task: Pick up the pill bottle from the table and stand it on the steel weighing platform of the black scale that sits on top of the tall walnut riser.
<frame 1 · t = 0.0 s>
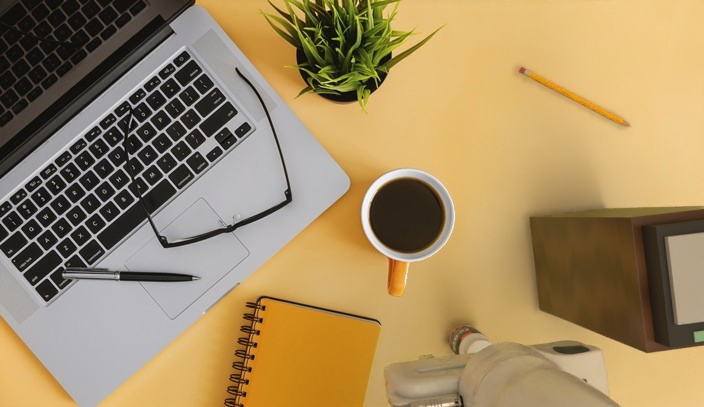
hand: (466, 356, 61), 19 cm above the table, tool pointing down, fingers open, 8 cm apart
scale: (693, 278, 57), resting on riser
pencil: (574, 98, 83), on the table
pill bottle: (463, 340, 81), on the table
riser: (573, 258, 83), on the table
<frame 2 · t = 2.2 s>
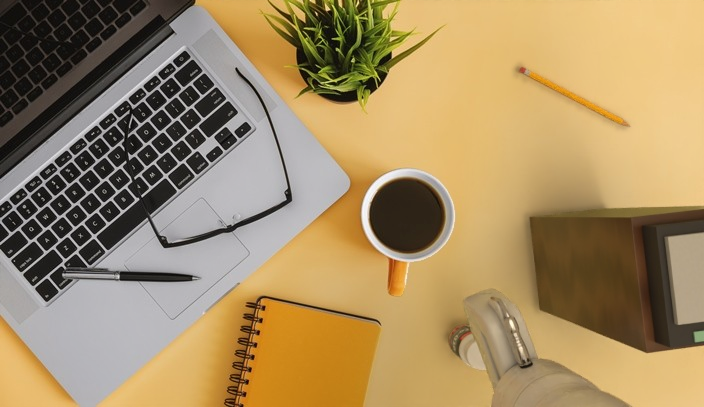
hand: (492, 369, 62), 19 cm above the table, tool pointing down, fingers open, 8 cm apart
nothing on the table moved.
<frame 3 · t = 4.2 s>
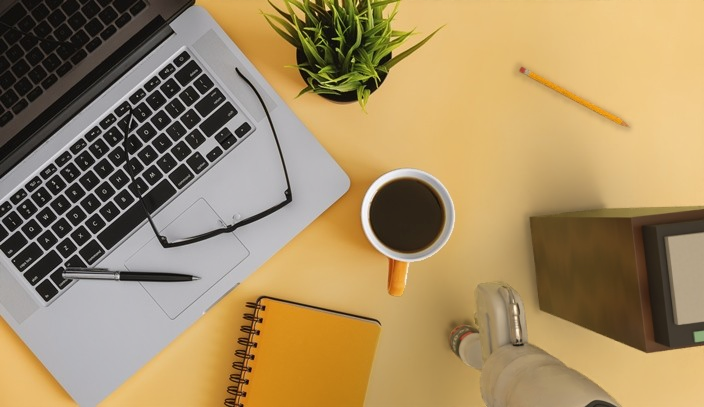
hand: (483, 352, 72), 9 cm above the table, tool pointing down, fingers open, 8 cm apart
nothing on the table moved.
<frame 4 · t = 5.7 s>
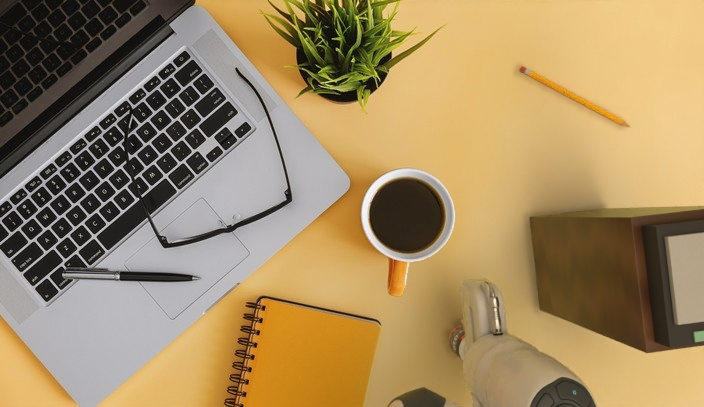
hand: (469, 344, 78), 3 cm above the table, tool pointing down, fingers closed on pill bottle, 5 cm apart
pill bottle: (463, 339, 81), on the table, touching gripper
everything else where it was.
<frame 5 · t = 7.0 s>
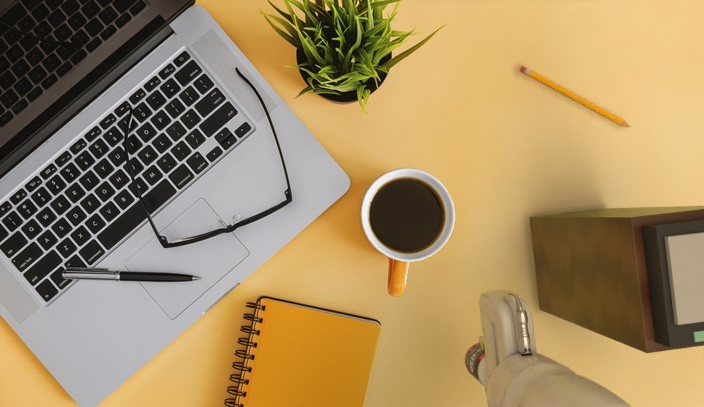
hand: (488, 365, 69), 12 cm above the table, tool pointing down, fingers closed on pill bottle, 5 cm apart
pill bottle: (480, 359, 72), point 9 cm above the table, touching gripper
everything else where it was.
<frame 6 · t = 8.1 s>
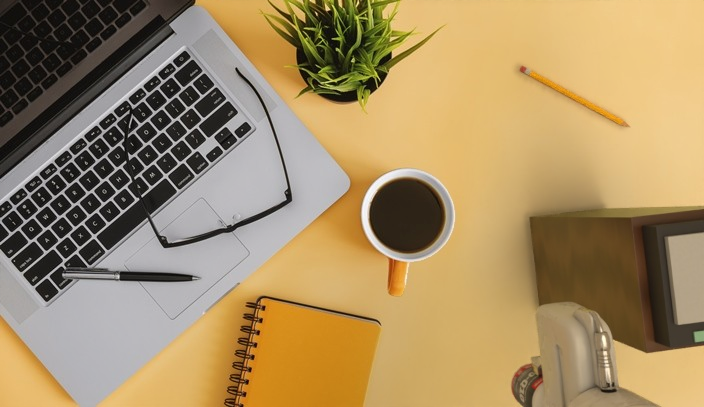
hand: (542, 393, 56), 25 cm above the table, tool pointing down, fingers closed on pill bottle, 5 cm apart
pill bottle: (530, 384, 59), point 22 cm above the table, touching gripper
everything else where it was.
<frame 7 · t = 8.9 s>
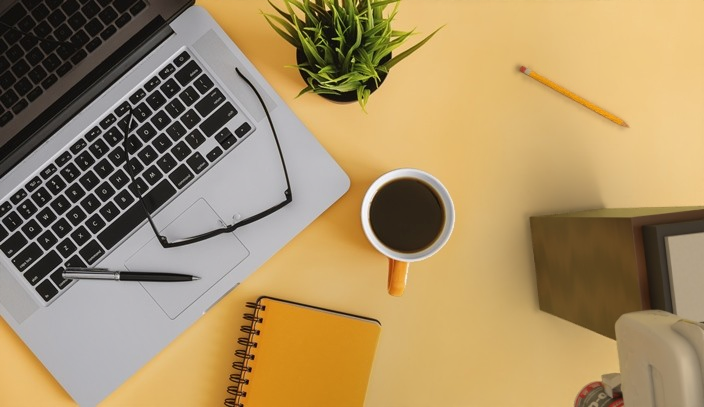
pill bottle: (596, 405, 49), point 32 cm above the table, touching gripper
everything else where it was.
when the fingers open (32 cm above the table, at t = 12.7 s): pill bottle stays where it is, resting on scale.
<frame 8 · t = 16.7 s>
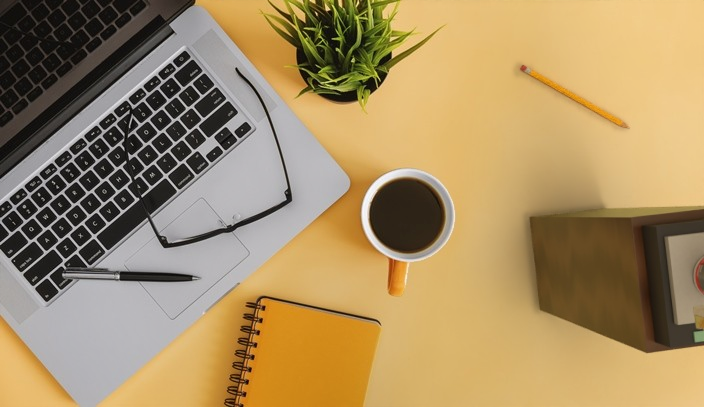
at the end: pill bottle inside the target area on the scale (0.1 cm from its centre), point 2.8 cm above the scale's base; pill bottle tilted 0°; the gripper is holding nothing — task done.
